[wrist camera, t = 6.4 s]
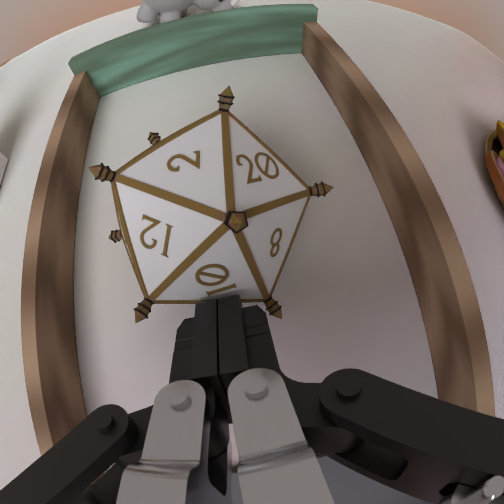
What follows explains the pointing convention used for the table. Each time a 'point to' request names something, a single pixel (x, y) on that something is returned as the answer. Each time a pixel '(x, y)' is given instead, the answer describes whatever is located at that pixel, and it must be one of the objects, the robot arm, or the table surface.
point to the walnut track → (364, 133)
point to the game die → (207, 213)
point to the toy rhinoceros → (177, 8)
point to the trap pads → (345, 486)
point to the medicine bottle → (2, 165)
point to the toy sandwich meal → (496, 159)
